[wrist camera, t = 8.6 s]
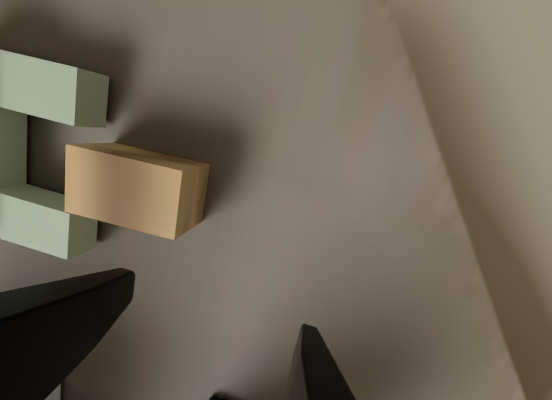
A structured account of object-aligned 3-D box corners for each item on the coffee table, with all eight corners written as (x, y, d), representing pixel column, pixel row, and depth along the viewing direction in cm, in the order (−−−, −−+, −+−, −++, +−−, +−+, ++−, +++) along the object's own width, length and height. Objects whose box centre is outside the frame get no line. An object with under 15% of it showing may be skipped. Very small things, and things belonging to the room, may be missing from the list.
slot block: (109, 76, 19) (53, 60, 15) (96, 245, 22) (46, 269, 18) (-24, 45, 20) (-109, 23, 16) (-19, 210, 23) (-90, 226, 19)
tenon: (211, 164, 19) (182, 170, 15) (202, 220, 20) (174, 240, 16) (115, 142, 20) (65, 144, 16) (112, 197, 21) (64, 211, 17)
